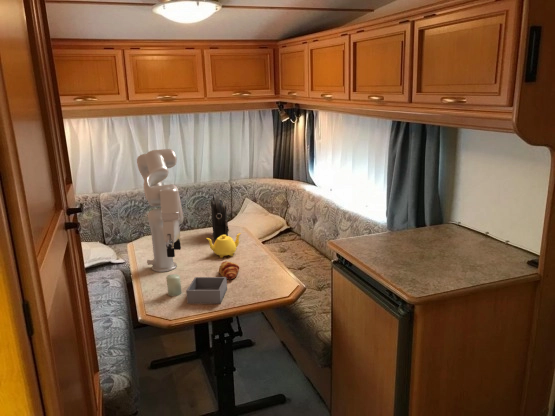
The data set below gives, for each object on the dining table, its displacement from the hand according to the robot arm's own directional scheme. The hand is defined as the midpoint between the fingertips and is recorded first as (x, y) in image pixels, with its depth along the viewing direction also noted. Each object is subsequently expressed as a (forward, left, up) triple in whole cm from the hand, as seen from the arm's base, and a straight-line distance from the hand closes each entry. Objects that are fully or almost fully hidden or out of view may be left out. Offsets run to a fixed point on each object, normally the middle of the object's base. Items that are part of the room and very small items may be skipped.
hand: (174, 253), depth 205 cm
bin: (+15, -4, -19) cm, 24 cm away
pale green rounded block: (-1, -1, -19) cm, 19 cm away
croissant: (+20, +22, -19) cm, 35 cm away
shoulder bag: (+3, +81, -19) cm, 83 cm away
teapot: (+12, +50, -19) cm, 55 cm away
